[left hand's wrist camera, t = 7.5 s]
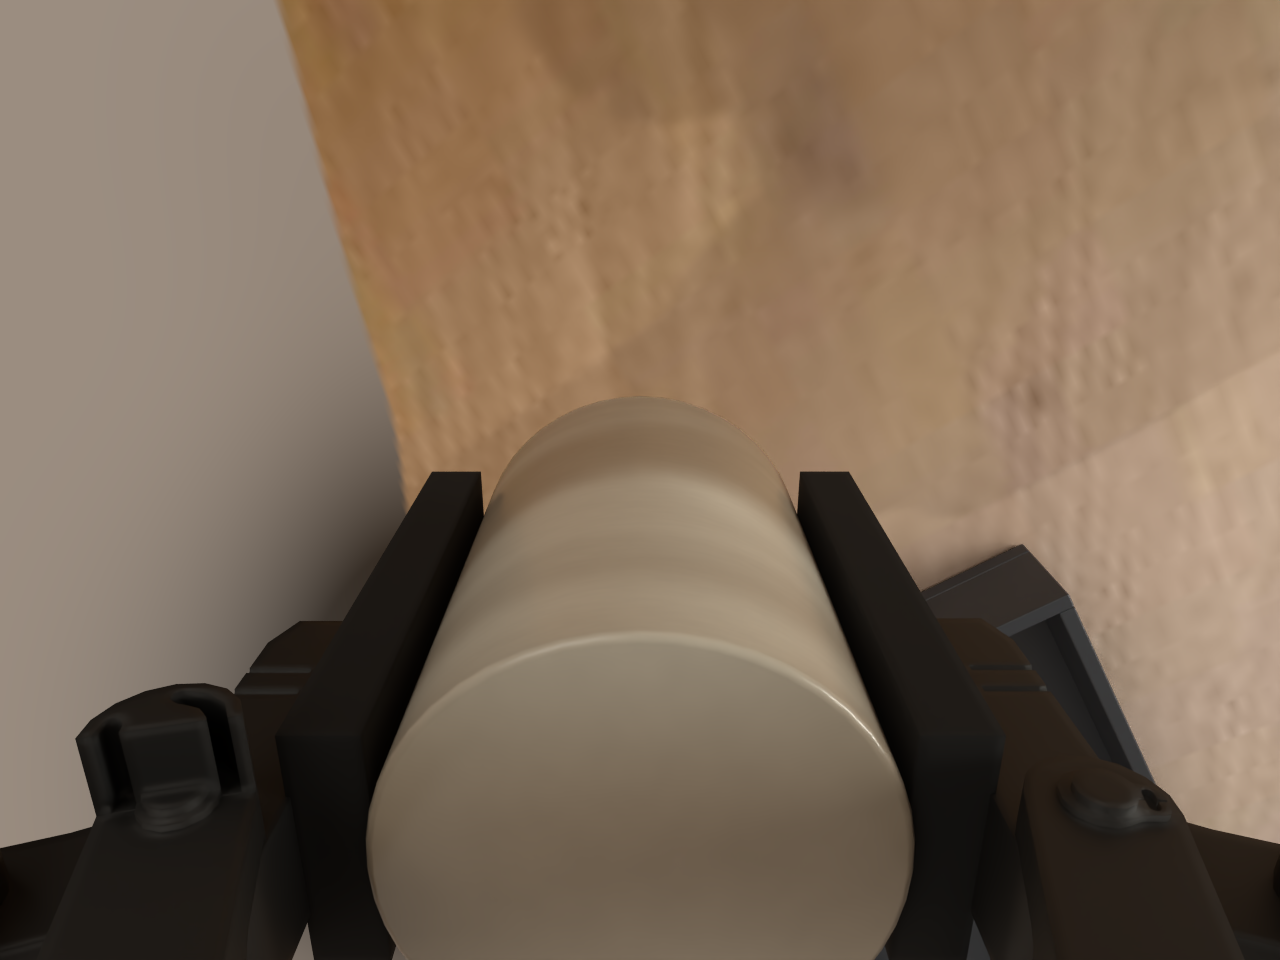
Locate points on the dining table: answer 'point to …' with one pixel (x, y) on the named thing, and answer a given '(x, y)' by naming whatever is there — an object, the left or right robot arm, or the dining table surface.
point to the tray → (1042, 654)
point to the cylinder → (640, 721)
